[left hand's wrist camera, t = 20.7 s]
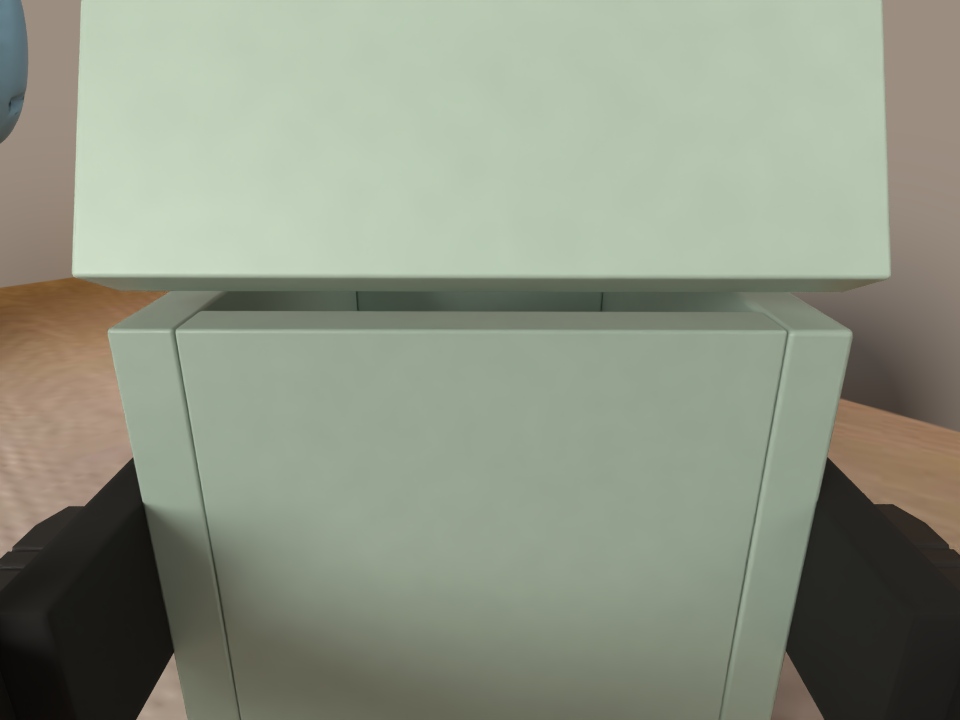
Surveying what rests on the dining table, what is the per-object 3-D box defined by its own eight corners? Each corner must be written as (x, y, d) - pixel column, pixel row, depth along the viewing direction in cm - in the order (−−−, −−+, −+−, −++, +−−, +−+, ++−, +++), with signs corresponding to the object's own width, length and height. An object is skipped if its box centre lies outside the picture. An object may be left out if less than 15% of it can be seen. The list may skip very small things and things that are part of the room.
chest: (350, 491, 25) (327, 195, 21) (608, 491, 25) (632, 196, 21) (220, 881, 12) (104, 329, 8) (738, 880, 12) (857, 330, 8)
